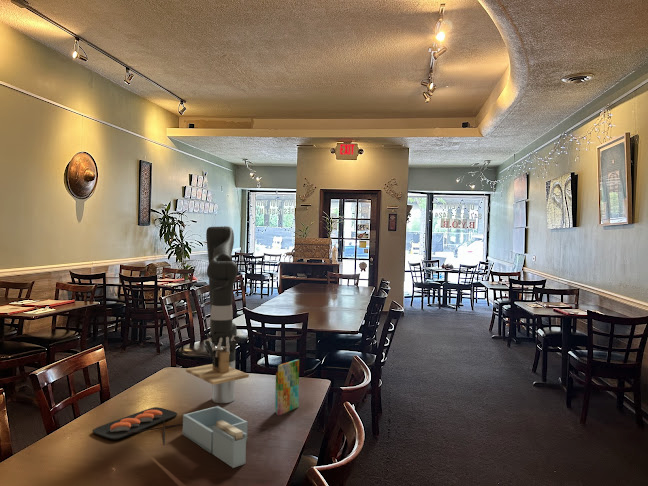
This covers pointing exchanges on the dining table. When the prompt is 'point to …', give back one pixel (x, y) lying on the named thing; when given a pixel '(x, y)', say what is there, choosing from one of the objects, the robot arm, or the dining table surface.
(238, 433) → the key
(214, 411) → the toolbox
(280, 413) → the puzzle game
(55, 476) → the dining table surface
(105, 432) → the sushi plate
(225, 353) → the lid
